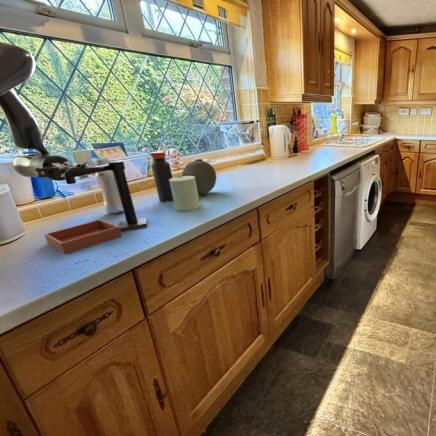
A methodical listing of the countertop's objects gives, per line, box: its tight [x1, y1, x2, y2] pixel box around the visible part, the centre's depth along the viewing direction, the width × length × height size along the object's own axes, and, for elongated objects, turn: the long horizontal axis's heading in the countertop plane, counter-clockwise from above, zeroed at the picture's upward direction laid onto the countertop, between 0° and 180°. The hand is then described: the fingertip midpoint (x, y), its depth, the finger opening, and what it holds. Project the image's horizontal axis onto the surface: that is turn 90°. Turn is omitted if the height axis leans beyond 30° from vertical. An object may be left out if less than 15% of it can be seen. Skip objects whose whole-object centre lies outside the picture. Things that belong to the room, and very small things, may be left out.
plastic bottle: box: [94, 158, 124, 214], centre depth 111 cm, size 6×7×20 cm
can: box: [169, 175, 201, 212], centre depth 116 cm, size 9×9×12 cm
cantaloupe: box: [181, 160, 217, 196], centre depth 133 cm, size 14×14×15 cm
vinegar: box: [150, 151, 174, 202], centre depth 126 cm, size 7×7×20 cm
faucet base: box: [113, 170, 148, 232], centre depth 97 cm, size 8×7×19 cm
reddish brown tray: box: [44, 219, 123, 255], centre depth 89 cm, size 14×13×3 cm
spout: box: [64, 160, 126, 185], centre depth 87 cm, size 16×4×4 cm, turn 160°
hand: (76, 171), depth 83 cm, fingers closed
